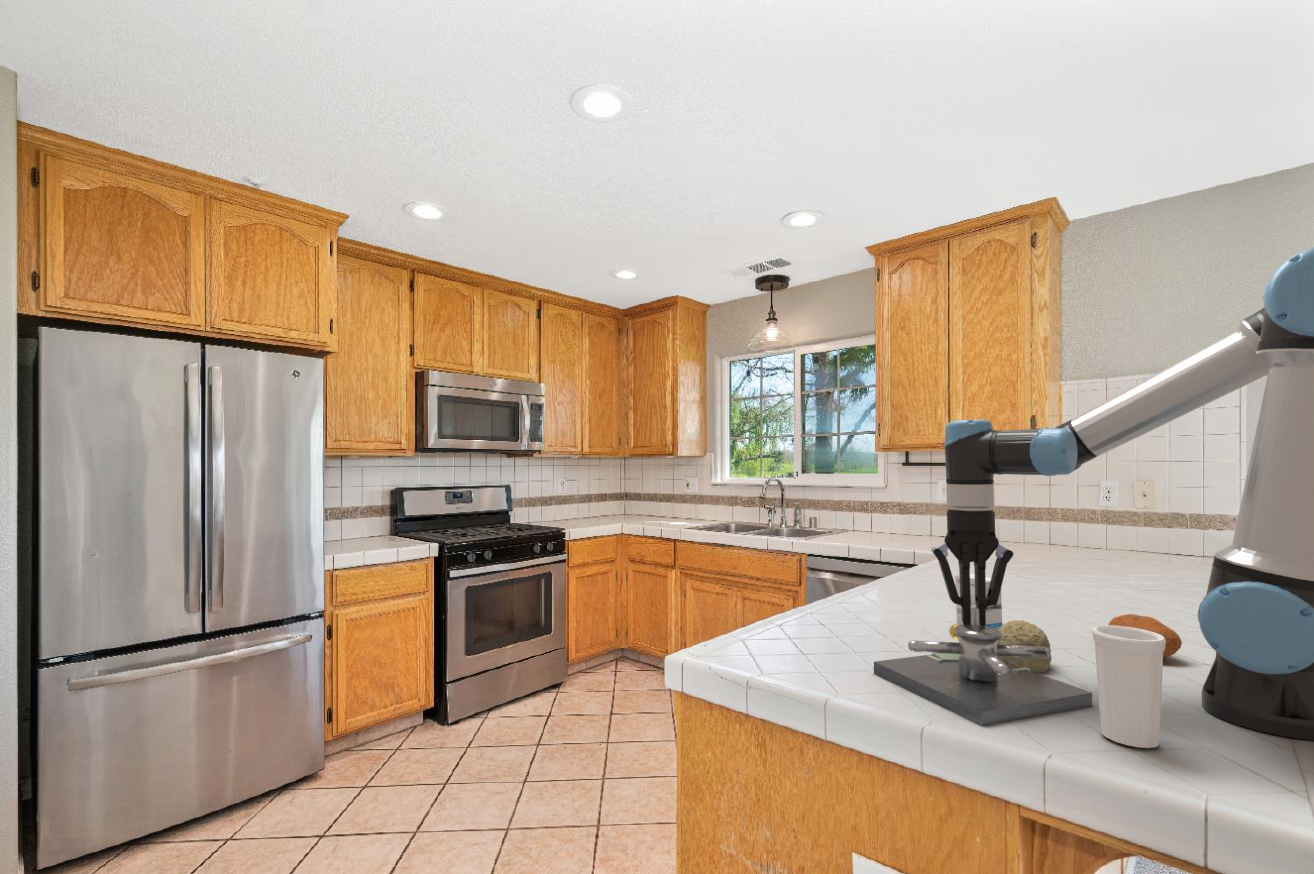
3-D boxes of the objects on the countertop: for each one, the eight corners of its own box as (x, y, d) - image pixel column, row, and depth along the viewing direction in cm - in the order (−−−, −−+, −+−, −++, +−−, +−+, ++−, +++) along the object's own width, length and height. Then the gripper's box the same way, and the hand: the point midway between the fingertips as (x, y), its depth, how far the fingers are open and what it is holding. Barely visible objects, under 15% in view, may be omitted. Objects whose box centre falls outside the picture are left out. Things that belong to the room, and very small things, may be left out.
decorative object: (1044, 695, 111) (1076, 648, 111) (992, 660, 113) (1023, 613, 113) (1021, 682, 120) (1050, 638, 120) (973, 649, 122) (1002, 606, 122)
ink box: (1003, 635, 136) (1003, 580, 136) (984, 637, 134) (984, 581, 134) (972, 625, 144) (972, 572, 144) (954, 626, 142) (954, 574, 143)
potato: (1133, 646, 129) (1133, 608, 129) (1194, 663, 118) (1193, 622, 118) (1098, 649, 126) (1098, 611, 126) (1157, 667, 115) (1156, 626, 115)
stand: (1092, 705, 97) (1092, 690, 97) (982, 725, 89) (982, 709, 90) (968, 659, 119) (968, 647, 119) (872, 672, 111) (872, 659, 111)
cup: (1078, 728, 89) (1077, 625, 89) (1133, 726, 90) (1131, 624, 90) (1125, 755, 81) (1123, 641, 81) (1184, 753, 81) (1182, 641, 82)
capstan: (1020, 656, 113) (1019, 615, 114) (1085, 705, 91) (1084, 653, 91) (892, 650, 117) (892, 610, 117) (925, 695, 94) (925, 646, 95)
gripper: (1004, 507, 113) (1009, 641, 112) (927, 506, 116) (931, 637, 115) (1017, 510, 106) (1021, 654, 105) (934, 509, 109) (938, 649, 108)
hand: (974, 645), depth 110 cm, fingers closed
